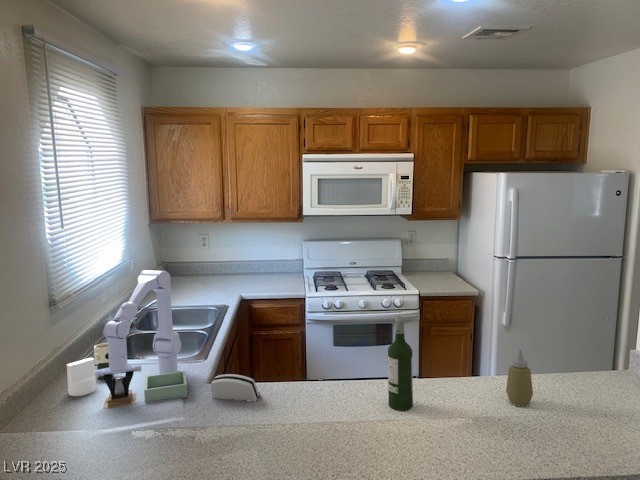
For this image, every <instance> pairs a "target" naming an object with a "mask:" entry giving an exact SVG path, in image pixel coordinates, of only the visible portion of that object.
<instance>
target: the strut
mask: <svg viewBox="0 0 640 480" xmlns="http://www.w3.org/2000/svg"><path fill="white" fill-rule="evenodd" d="M113 392H114V399H117V398H124V397H127V396H126V379H125V375H120V376H119V375H118V376H115V377H113Z"/></svg>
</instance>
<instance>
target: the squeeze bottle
mask: <svg viewBox="0 0 640 480" xmlns="http://www.w3.org/2000/svg"><path fill="white" fill-rule="evenodd" d="M505 390H506V391H505V392H506V394H507V397H508V401H509V400H510V401H509V403H510V402H512V403H513V404H515V405H519V406H518V407H520V406H525V407H528V406H530V403H531V401H532V398H533V396H534V393H533V392H534V391H533V380H532V371H531V369H530V367H528V360H526V359H525V358H524V354H523V350H522V349H517V352H516V355H515V358H513V359H512V360H511V365H510V366H508V373H507V381H506V389H505ZM513 404H512V405H513ZM515 405H514V406H515ZM527 405H528V406H527Z"/></svg>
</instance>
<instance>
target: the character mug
mask: <svg viewBox="0 0 640 480" xmlns="http://www.w3.org/2000/svg"><path fill="white" fill-rule="evenodd" d="M93 355H94V358H93V359H94V363H95V364H96V363H97V365H96V366H97V367H96V368H97V369H96V370H100V369H104V368H109V353H108V343H107V342H105V343H104V342H103V343H98V344H96V345H94V346H93ZM114 375H115V374H113V376H114ZM97 378H99V379H104V376H99V377H97Z"/></svg>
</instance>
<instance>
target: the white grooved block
mask: <svg viewBox="0 0 640 480" xmlns="http://www.w3.org/2000/svg"><path fill="white" fill-rule="evenodd" d="M95 371H96V369H95V358H93V357H88V358H84V359H81V360H77V361H74V362H69V363H67V364H66V374H67V390H68V393H67V395H69V396H71V397H80V396H81V397H82V396H85V395H86V396H87V395H88V394H92V393H94V392H95V391H96V390H97V384H96V382H97V381H96V378H97V377H95Z"/></svg>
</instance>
